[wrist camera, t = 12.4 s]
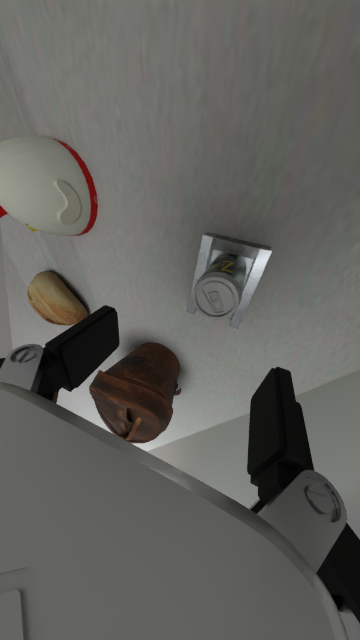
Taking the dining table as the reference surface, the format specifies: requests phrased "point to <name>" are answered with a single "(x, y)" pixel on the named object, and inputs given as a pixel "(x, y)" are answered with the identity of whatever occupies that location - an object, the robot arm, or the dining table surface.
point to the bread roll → (54, 300)
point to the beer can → (220, 287)
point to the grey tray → (248, 251)
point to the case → (138, 393)
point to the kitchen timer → (46, 186)
